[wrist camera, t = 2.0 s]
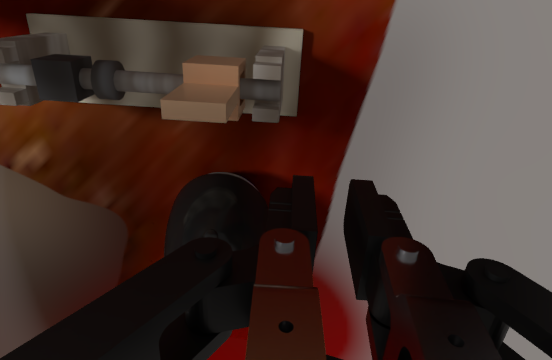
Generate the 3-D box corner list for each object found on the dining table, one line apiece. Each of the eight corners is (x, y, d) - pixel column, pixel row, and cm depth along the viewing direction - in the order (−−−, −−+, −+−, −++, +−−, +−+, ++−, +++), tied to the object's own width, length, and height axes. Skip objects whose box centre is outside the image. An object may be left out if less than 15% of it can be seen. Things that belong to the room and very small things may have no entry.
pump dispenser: (283, 172, 41) (276, 260, 27) (258, 245, 45) (240, 352, 31) (193, 145, 40) (138, 222, 26) (177, 222, 44) (122, 322, 31)
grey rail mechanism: (51, 97, 38) (-20, 126, 30) (32, 13, 35) (-54, 18, 26) (296, 113, 37) (295, 147, 29) (303, 29, 34) (304, 39, 25)
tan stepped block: (198, 104, 31) (163, 140, 23) (196, 55, 30) (158, 76, 22) (245, 107, 31) (226, 144, 23) (245, 58, 30) (225, 80, 22)
